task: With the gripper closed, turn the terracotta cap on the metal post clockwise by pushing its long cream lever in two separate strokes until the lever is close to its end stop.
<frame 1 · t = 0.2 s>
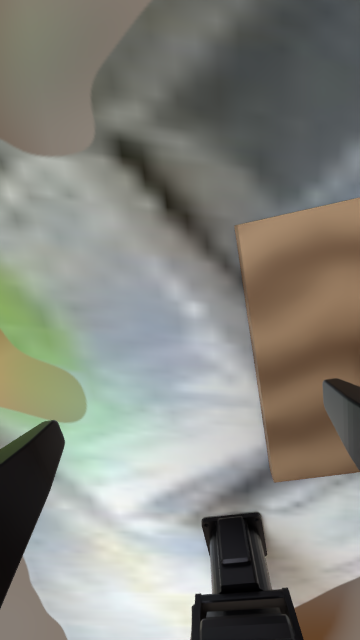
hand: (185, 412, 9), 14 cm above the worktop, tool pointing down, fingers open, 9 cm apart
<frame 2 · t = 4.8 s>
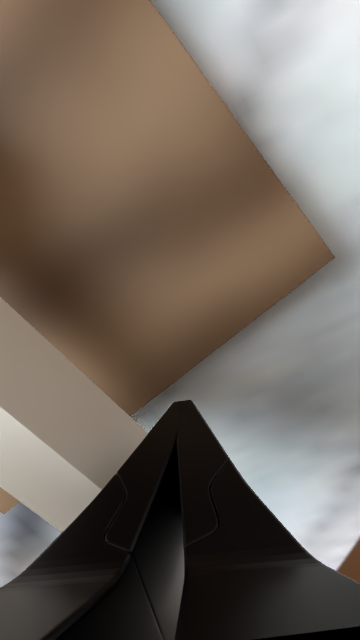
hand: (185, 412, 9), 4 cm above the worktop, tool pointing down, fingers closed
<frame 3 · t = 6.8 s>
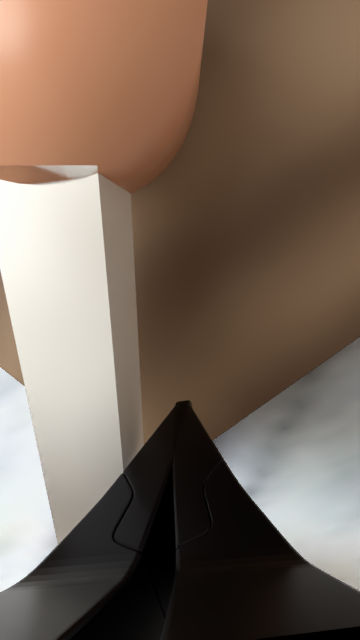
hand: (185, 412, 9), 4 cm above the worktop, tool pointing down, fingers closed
post board: (116, 126, 10), on the worktop
cap lever: (85, 295, 7), point 5 cm above the worktop, hinge at 42.8°, touching gripper
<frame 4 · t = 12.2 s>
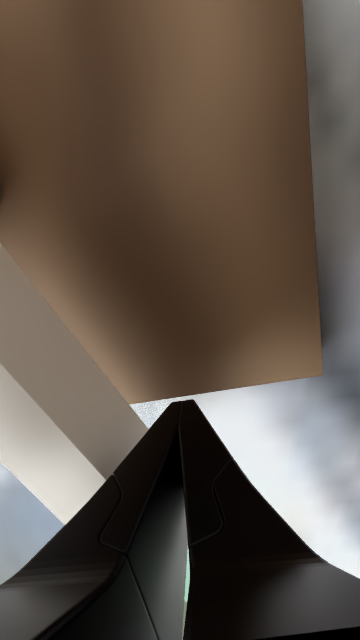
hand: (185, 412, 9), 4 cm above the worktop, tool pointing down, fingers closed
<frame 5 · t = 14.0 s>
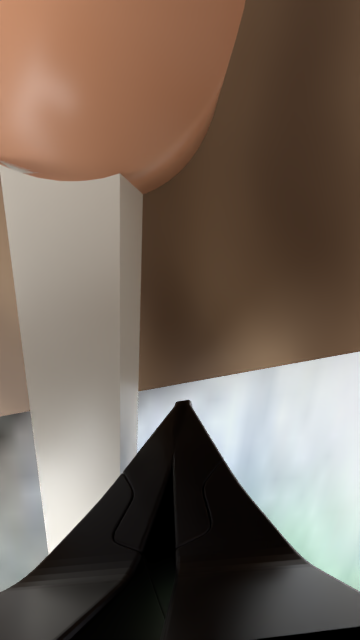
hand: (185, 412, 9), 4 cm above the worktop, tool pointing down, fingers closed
post board: (129, 124, 10), on the worktop
cap lever: (92, 293, 7), point 5 cm above the worktop, hinge at 105.7°, touching gripper
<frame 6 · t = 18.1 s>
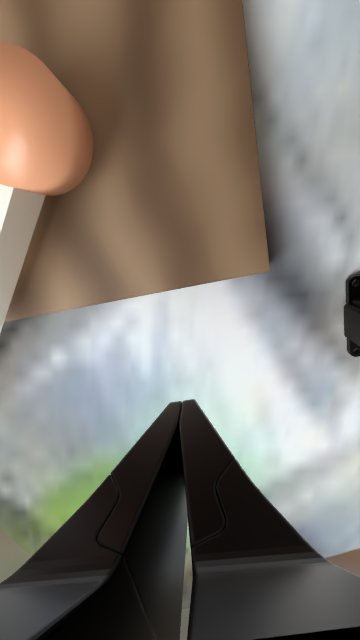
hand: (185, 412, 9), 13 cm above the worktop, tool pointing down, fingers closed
post board: (70, 157, 19), on the worktop
cap lever: (0, 225, 15), point 5 cm above the worktop, hinge at 129.1°
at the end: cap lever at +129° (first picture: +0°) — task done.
